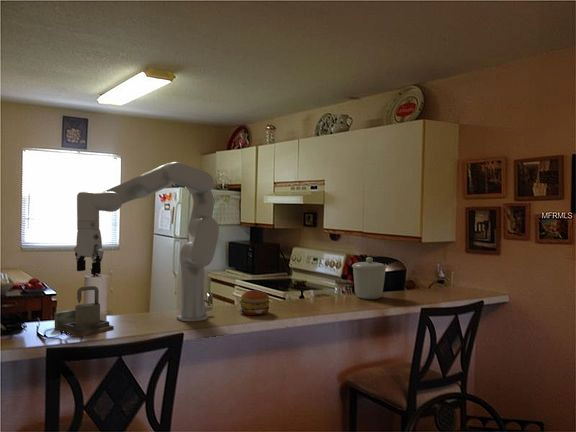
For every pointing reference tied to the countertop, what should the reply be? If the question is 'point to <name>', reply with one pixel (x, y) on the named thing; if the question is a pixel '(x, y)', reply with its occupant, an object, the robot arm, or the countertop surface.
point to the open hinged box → (67, 324)
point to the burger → (254, 303)
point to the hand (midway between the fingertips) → (88, 272)
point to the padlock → (87, 309)
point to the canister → (369, 279)
